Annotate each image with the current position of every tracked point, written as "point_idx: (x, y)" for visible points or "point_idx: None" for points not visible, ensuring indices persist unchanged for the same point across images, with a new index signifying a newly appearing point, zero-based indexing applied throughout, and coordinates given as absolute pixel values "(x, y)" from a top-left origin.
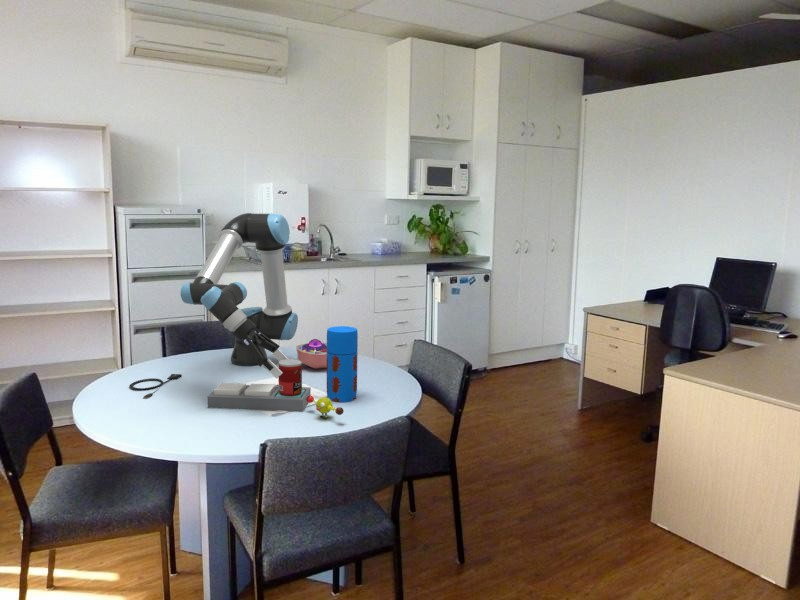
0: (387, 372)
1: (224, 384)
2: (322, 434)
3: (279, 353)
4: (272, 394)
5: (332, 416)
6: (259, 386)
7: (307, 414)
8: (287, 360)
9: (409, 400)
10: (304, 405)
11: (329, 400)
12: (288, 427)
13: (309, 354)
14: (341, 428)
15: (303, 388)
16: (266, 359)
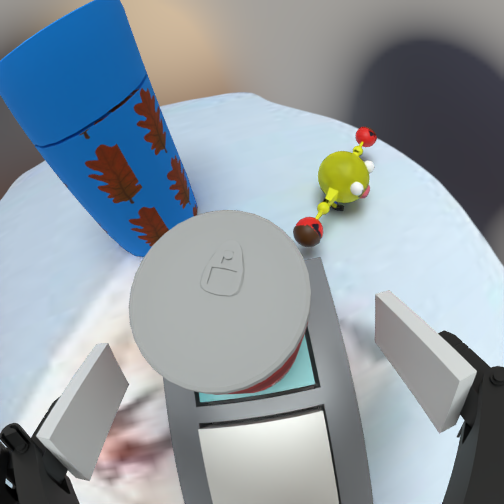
0: (11, 203)
1: None
2: (430, 176)
3: (74, 422)
4: (293, 408)
5: (320, 187)
6: (252, 487)
7: (335, 252)
8: (155, 338)
9: (167, 109)
10: None
11: (344, 151)
12: (444, 259)
13: None
14: (381, 153)
15: None
16: (500, 369)
